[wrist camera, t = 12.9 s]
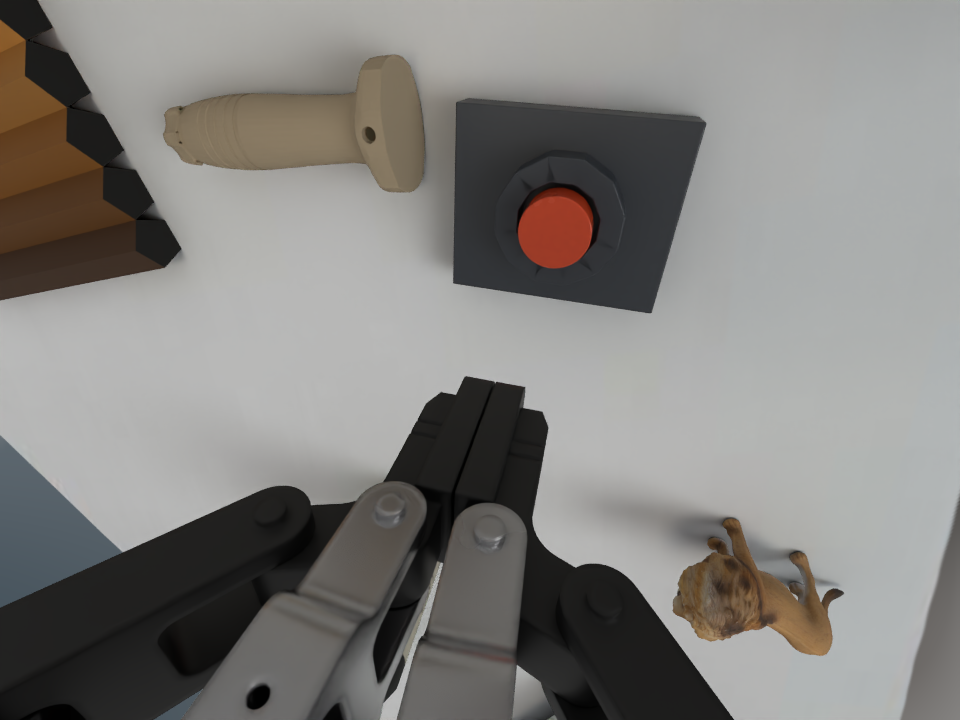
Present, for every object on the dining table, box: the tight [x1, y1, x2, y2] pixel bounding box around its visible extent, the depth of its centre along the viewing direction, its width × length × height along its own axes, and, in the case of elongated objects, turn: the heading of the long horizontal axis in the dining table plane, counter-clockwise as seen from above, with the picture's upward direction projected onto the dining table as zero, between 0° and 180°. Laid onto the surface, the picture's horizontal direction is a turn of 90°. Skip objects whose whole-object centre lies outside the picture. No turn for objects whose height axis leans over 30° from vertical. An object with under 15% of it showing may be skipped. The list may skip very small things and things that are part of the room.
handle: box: [163, 55, 425, 192], centre depth 27 cm, size 5×6×15 cm
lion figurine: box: [673, 518, 844, 656], centre depth 35 cm, size 15×5×9 cm, turn 73°
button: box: [518, 187, 593, 268], centre depth 23 cm, size 4×4×2 cm
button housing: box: [453, 98, 706, 313], centre depth 25 cm, size 12×10×4 cm
